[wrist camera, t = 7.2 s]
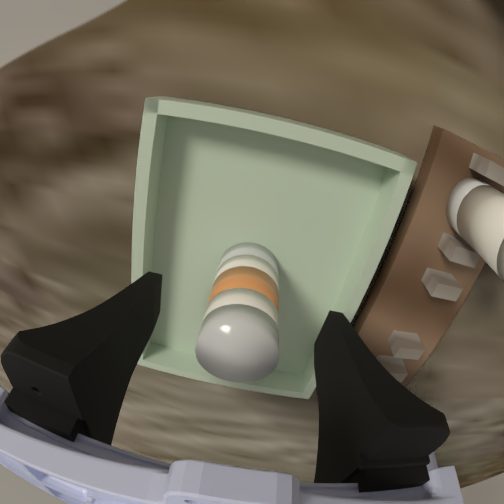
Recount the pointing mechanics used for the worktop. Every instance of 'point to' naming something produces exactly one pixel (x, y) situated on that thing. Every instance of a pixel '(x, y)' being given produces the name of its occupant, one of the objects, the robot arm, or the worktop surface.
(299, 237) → the tray
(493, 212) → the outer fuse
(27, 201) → the worktop surface
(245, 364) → the marked fuse
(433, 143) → the fuse holder
